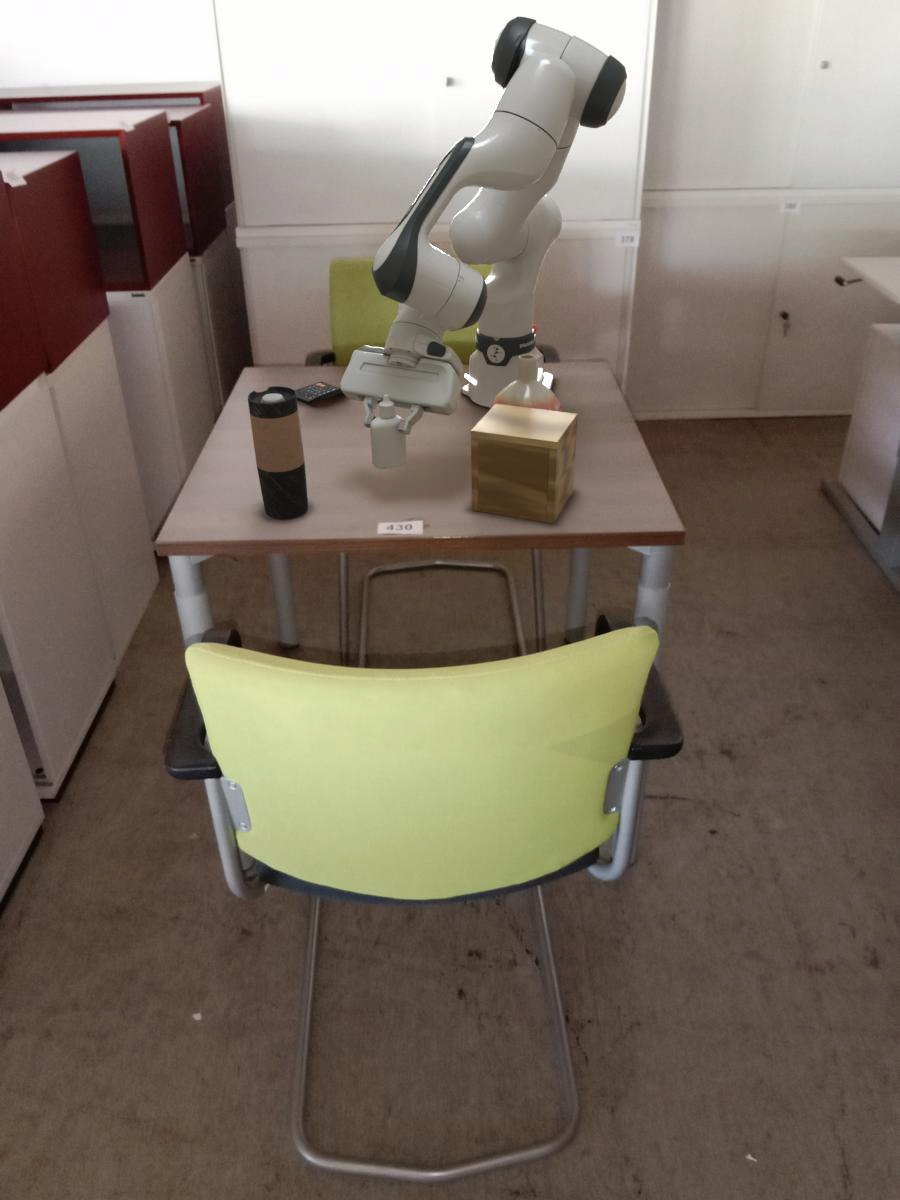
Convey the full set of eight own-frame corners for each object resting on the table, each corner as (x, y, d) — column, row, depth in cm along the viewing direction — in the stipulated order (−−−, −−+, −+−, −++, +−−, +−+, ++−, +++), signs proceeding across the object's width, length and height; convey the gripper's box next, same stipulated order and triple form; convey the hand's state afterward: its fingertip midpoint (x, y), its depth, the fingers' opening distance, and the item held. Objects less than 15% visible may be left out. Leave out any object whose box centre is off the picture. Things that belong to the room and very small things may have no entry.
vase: (559, 466, 166) (564, 370, 156) (483, 462, 168) (483, 368, 158) (563, 436, 177) (568, 345, 168) (492, 433, 179) (493, 343, 170)
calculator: (321, 385, 204) (320, 371, 202) (356, 397, 197) (355, 384, 195) (287, 396, 198) (285, 383, 196) (321, 410, 191) (320, 396, 189)
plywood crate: (495, 479, 162) (495, 403, 154) (573, 491, 158) (577, 413, 150) (471, 510, 153) (470, 430, 145) (553, 523, 148) (557, 442, 141)
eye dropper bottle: (376, 457, 156) (371, 389, 150) (408, 459, 156) (405, 391, 149) (370, 469, 153) (365, 399, 146) (403, 470, 152) (400, 401, 145)
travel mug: (302, 522, 150) (288, 404, 139) (257, 519, 151) (239, 402, 141) (315, 500, 157) (303, 386, 146) (272, 498, 158) (256, 384, 147)
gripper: (348, 334, 153) (322, 412, 151) (461, 350, 146) (435, 431, 144) (363, 353, 159) (338, 427, 157) (473, 369, 151) (448, 447, 149)
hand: (386, 429), depth 150 cm, fingers closed on eye dropper bottle, 5 cm apart
